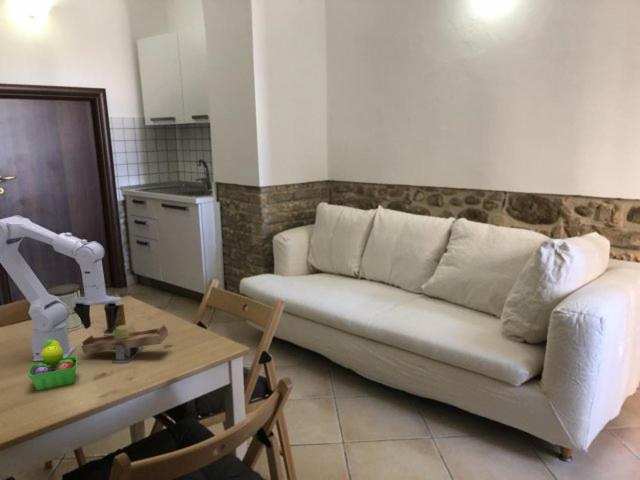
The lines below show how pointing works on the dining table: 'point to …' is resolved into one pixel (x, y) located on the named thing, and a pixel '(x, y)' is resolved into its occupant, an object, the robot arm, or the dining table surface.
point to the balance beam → (125, 340)
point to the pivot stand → (125, 353)
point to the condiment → (119, 317)
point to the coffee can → (68, 302)
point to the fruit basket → (53, 367)
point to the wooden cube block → (124, 332)
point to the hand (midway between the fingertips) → (100, 327)
